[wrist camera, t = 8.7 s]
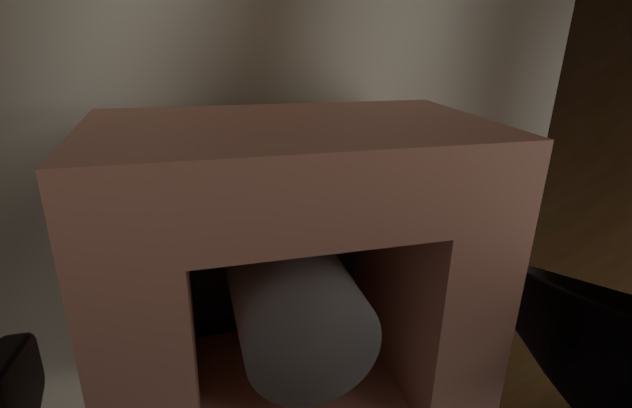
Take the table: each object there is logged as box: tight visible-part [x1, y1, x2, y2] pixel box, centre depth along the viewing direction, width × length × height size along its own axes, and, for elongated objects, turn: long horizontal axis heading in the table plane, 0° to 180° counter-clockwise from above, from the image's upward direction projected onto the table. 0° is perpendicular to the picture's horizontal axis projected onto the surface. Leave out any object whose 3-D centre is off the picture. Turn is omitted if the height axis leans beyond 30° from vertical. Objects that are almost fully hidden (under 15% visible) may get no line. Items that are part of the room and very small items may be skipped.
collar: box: [35, 100, 554, 408], centre depth 9 cm, size 7×7×4 cm
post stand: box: [0, 0, 575, 408], centre depth 11 cm, size 16×16×6 cm
